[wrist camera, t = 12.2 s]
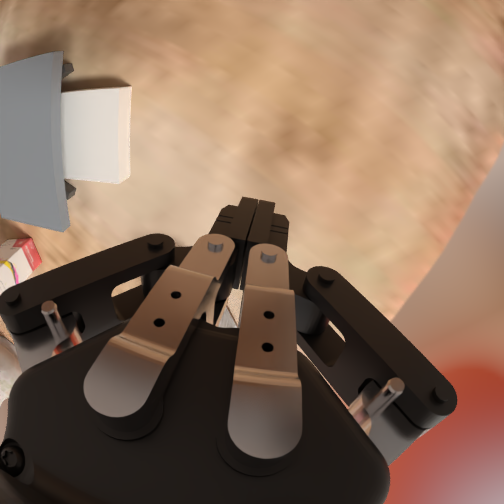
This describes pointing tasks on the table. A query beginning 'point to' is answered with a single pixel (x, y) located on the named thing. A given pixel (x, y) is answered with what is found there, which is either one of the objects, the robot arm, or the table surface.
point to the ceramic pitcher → (8, 368)
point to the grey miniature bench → (33, 142)
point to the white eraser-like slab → (96, 134)
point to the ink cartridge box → (17, 261)
